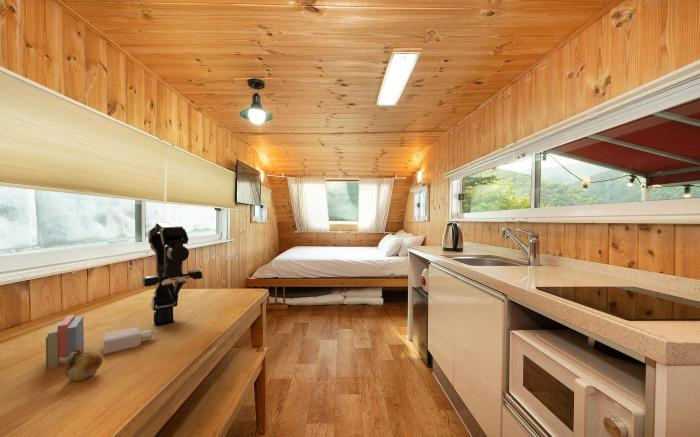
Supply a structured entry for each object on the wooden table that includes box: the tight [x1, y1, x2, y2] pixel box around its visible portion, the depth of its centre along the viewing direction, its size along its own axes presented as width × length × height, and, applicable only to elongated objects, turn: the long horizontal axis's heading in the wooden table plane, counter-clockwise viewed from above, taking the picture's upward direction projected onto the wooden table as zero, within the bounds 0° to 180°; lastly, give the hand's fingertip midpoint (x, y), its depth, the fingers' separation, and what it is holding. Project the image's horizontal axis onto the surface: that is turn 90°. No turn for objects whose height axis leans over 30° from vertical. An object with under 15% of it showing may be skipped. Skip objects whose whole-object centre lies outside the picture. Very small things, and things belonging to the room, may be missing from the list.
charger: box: [102, 326, 159, 355], centre depth 99 cm, size 5×9×15 cm
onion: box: [59, 350, 104, 382], centre depth 77 cm, size 8×8×8 cm
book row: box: [45, 314, 85, 369], centre depth 89 cm, size 7×12×12 cm, turn 36°
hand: (174, 300), depth 106 cm, fingers closed
